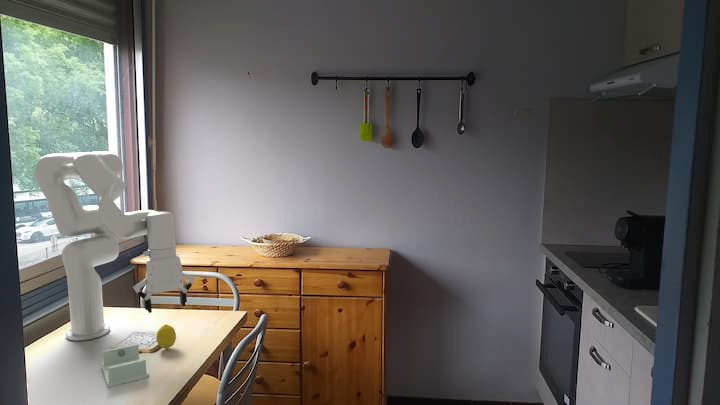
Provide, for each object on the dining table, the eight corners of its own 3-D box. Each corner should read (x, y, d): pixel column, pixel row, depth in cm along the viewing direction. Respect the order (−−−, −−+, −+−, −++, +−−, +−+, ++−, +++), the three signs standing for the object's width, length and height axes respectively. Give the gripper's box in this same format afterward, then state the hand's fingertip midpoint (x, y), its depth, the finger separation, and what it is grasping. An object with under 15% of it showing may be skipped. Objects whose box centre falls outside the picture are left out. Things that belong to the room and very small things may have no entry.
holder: (102, 367, 135) (100, 351, 134) (140, 359, 140) (139, 342, 140) (107, 387, 124) (106, 369, 123) (148, 377, 130) (147, 359, 129)
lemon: (169, 354, 144) (168, 328, 142) (153, 352, 145) (152, 327, 144) (180, 346, 149) (179, 321, 148) (164, 344, 150) (163, 320, 149)
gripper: (133, 259, 135) (137, 318, 137) (195, 251, 144) (198, 305, 147) (129, 255, 141) (133, 310, 143) (189, 247, 151) (192, 299, 153)
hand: (166, 308), depth 145 cm, fingers open, 9 cm apart
